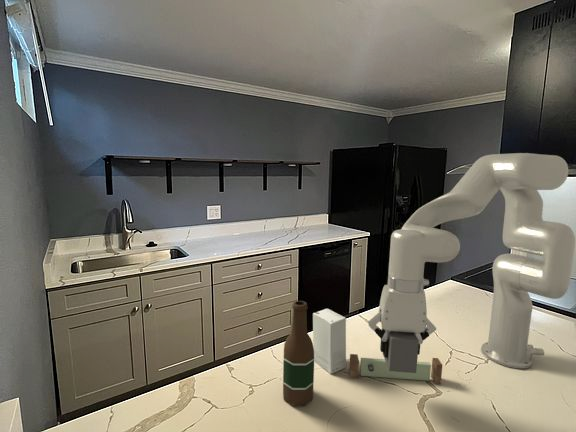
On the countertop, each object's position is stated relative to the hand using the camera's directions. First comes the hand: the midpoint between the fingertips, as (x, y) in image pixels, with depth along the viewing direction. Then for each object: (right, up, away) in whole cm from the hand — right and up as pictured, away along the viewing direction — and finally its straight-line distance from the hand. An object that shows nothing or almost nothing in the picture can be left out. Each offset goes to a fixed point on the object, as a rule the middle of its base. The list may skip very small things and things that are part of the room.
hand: (399, 354), depth 74 cm
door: (+2, -10, +9) cm, 14 cm away
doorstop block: (0, -2, 0) cm, 2 cm away
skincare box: (-15, -9, +15) cm, 23 cm away
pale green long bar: (+2, -10, +9) cm, 14 cm away
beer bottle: (-24, -11, +2) cm, 27 cm away
